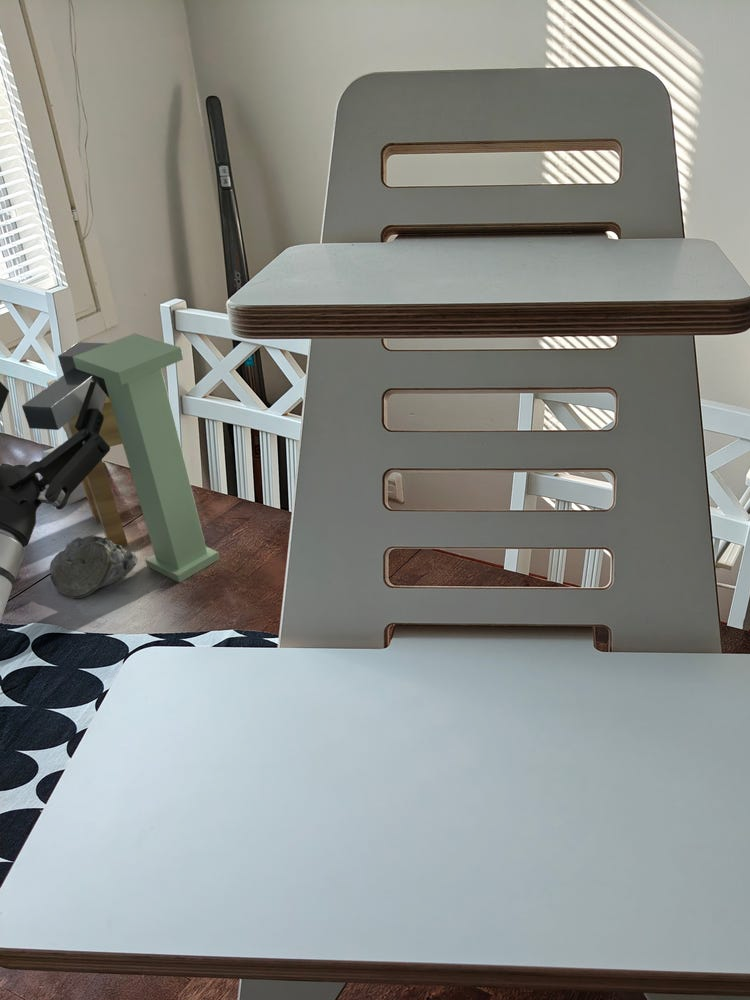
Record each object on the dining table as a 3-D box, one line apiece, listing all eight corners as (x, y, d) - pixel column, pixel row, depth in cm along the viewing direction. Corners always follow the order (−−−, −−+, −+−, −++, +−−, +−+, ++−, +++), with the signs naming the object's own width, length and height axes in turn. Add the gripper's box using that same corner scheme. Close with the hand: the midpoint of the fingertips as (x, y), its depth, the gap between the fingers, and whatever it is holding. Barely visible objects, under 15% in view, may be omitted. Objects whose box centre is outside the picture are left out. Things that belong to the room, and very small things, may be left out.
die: (94, 478, 157) (39, 440, 151) (125, 462, 152) (69, 421, 146) (73, 520, 153) (16, 482, 147) (104, 504, 148) (45, 464, 141)
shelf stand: (178, 588, 130) (118, 372, 112) (136, 567, 134) (72, 356, 116) (230, 558, 135) (180, 347, 117) (188, 538, 140) (134, 333, 122)
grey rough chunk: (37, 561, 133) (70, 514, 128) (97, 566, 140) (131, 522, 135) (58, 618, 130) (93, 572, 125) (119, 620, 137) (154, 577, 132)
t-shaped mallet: (88, 377, 134) (77, 341, 131) (127, 379, 133) (118, 343, 130) (22, 428, 122) (8, 389, 119) (65, 430, 121) (53, 392, 118)
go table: (90, 515, 147) (46, 381, 134) (169, 493, 151) (133, 361, 138) (109, 551, 138) (64, 412, 125) (192, 526, 143) (157, 389, 130)
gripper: (-80, 544, 120) (-22, 400, 127) (106, 559, 115) (154, 409, 123) (-123, 513, 113) (-59, 363, 120) (73, 528, 108) (126, 371, 116)
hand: (49, 386), depth 122 cm, fingers open, 13 cm apart
